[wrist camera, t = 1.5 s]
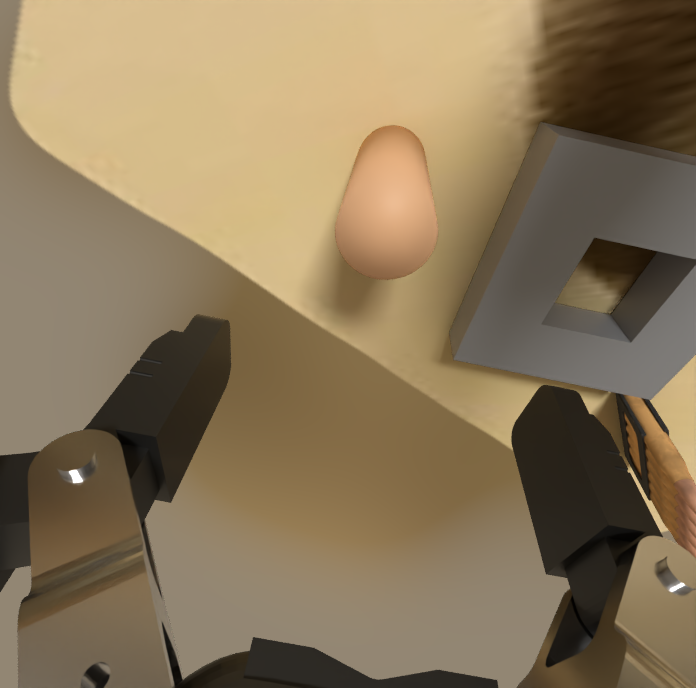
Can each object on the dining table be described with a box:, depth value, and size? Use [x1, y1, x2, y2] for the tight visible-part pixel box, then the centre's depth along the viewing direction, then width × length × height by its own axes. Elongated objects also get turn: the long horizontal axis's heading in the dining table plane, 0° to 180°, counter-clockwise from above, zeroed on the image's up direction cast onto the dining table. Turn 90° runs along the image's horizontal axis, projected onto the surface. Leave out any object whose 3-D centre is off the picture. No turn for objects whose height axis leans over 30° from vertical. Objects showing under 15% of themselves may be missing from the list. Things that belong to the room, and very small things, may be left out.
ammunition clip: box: [616, 393, 696, 558], centre depth 33 cm, size 11×2×12 cm, turn 27°
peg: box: [335, 125, 438, 280], centre depth 21 cm, size 4×4×11 cm
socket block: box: [449, 122, 696, 400], centre depth 27 cm, size 16×16×4 cm
